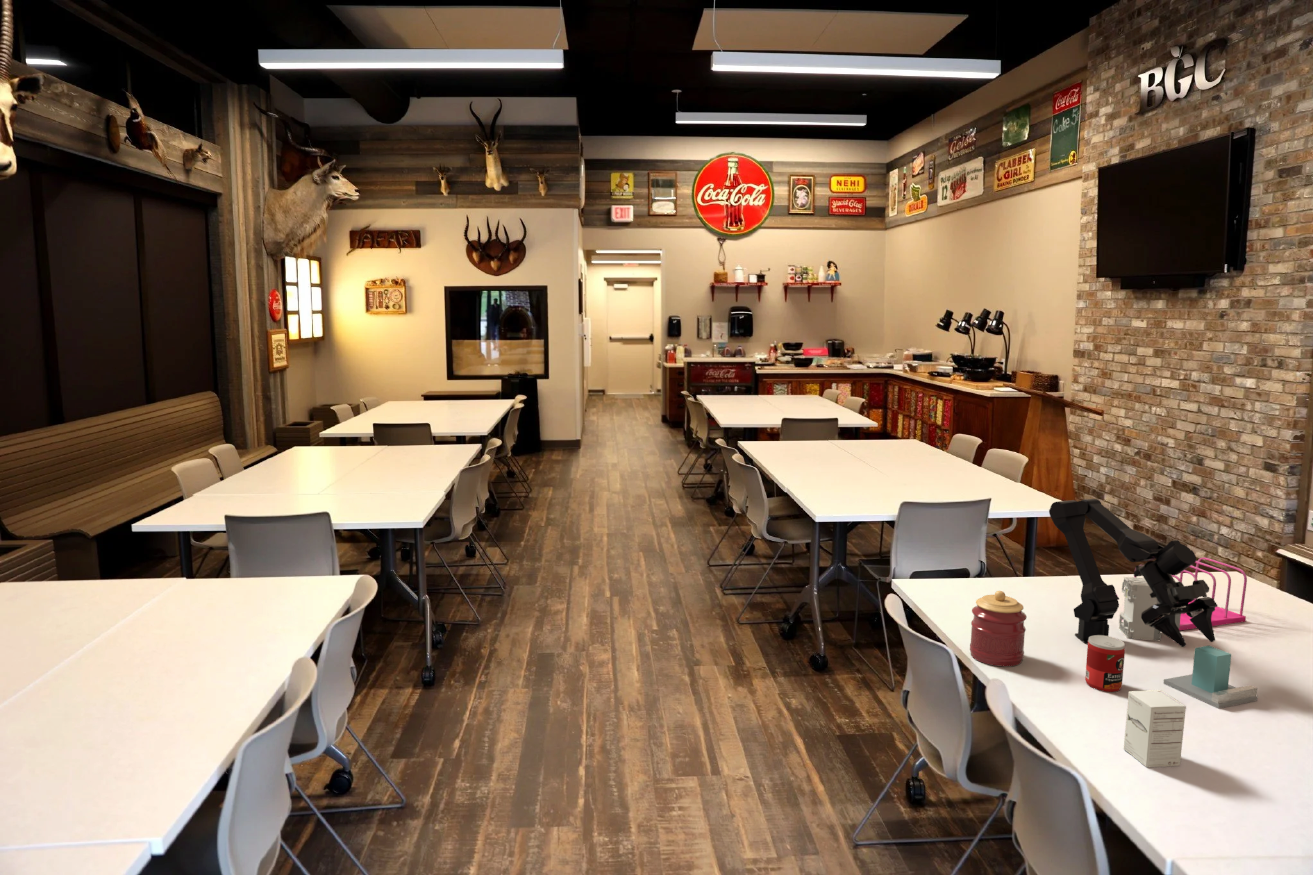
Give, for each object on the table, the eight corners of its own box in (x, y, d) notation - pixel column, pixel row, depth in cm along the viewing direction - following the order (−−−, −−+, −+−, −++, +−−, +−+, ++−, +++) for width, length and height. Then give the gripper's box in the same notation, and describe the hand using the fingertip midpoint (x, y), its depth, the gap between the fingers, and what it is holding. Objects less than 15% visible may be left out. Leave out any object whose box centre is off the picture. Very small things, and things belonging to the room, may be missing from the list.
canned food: (1108, 695, 200) (1111, 649, 198) (1077, 682, 207) (1080, 638, 205) (1129, 688, 203) (1133, 643, 202) (1098, 676, 210) (1101, 632, 209)
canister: (977, 644, 231) (981, 580, 228) (1028, 655, 223) (1033, 589, 221) (963, 659, 220) (966, 592, 218) (1016, 671, 213) (1021, 602, 210)
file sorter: (1246, 622, 248) (1251, 569, 245) (1177, 631, 240) (1182, 577, 238) (1192, 603, 264) (1197, 553, 262) (1127, 611, 257) (1131, 560, 255)
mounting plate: (1163, 683, 206) (1164, 671, 206) (1200, 676, 210) (1201, 664, 210) (1218, 708, 193) (1219, 695, 193) (1256, 700, 197) (1258, 688, 197)
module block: (1191, 684, 203) (1195, 647, 202) (1205, 681, 205) (1209, 645, 204) (1213, 693, 198) (1217, 656, 197) (1227, 691, 200) (1231, 653, 198)
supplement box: (1122, 749, 175) (1127, 690, 173) (1156, 747, 176) (1162, 688, 174) (1145, 768, 168) (1150, 706, 166) (1181, 766, 168) (1187, 705, 167)
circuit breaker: (1185, 642, 232) (1190, 588, 230) (1127, 638, 235) (1131, 585, 233) (1174, 632, 239) (1179, 579, 237) (1118, 628, 242) (1122, 576, 240)
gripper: (1156, 572, 203) (1194, 634, 194) (1214, 564, 209) (1253, 624, 200) (1125, 594, 212) (1160, 654, 203) (1181, 586, 218) (1218, 644, 209)
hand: (1199, 643), depth 204 cm, fingers open, 9 cm apart
